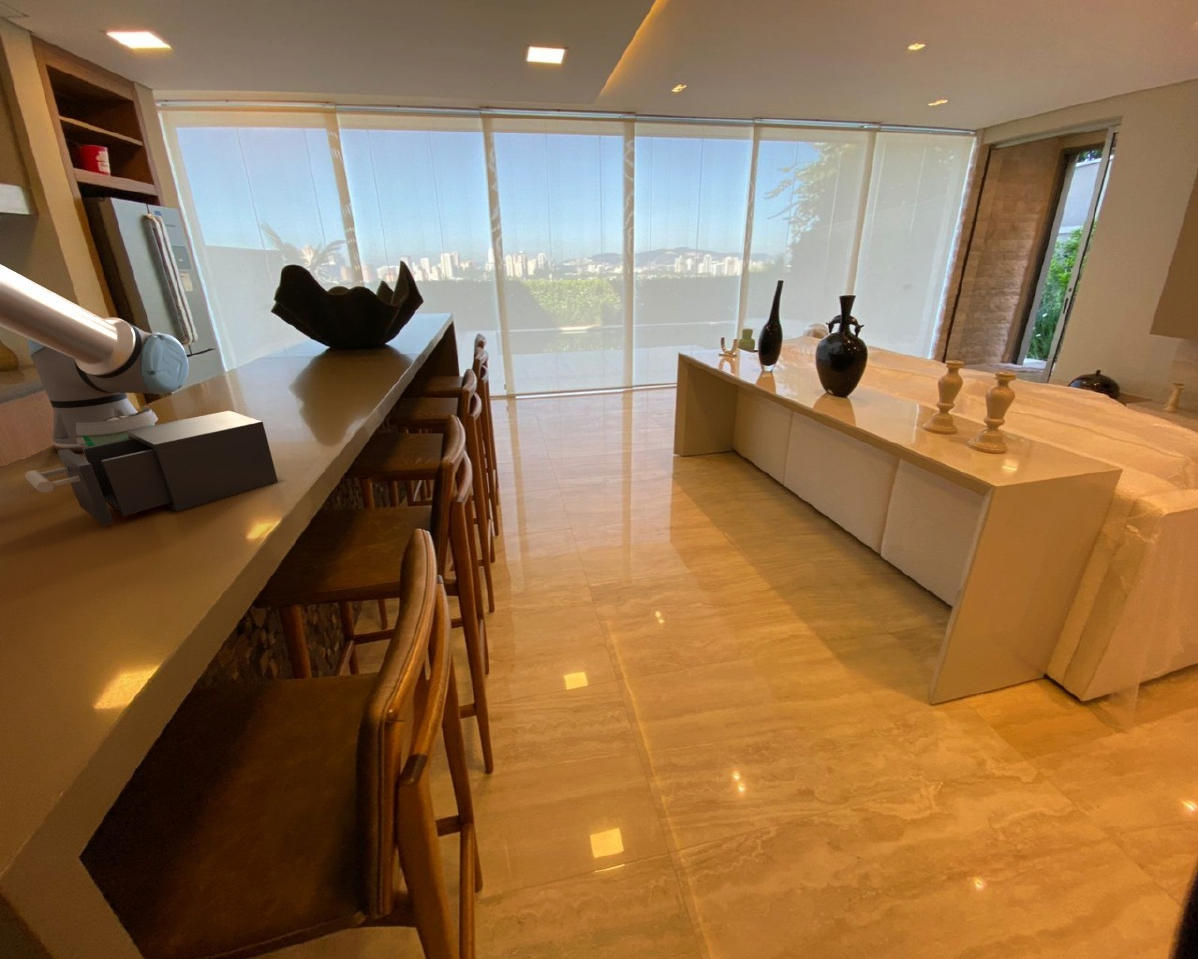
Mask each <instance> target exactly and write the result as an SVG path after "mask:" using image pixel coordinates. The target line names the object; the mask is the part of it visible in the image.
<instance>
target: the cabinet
mask: <svg viewBox="0 0 1198 959" xmlns="http://www.w3.org/2000/svg"><path fill="white" fill-rule="evenodd" d="M126 434H127V436H128V439H131V438H134V439H136V440H138V441H140V442H142V443H144V444H146V445H147V446H149V447H151V448H153V449H154V451H155V453H156V456H157V459H158V462H159V465H160V468H161V471H162V474H163V477H164V480H165V483H166V486H167V489H168V492H169V494H170V497H171V500H172V502H171V503H167V504H165V506H167V507H169V508H171V509H172V510H173V511H175V512H177V513H178V512H181V511H185V510H187V509H192V508H194V507H198V506H201V505H204V504H208V503H211V502H214V501H217V500H221V499H225V498H228V497H231V496H233V495H238V494H241V493H244V492H248V491H251V490H255V489H258V488H262V487H264V486H265V487H266V486H267V485H271V484H275V483H277V482H279V480H278V475H277V472H276V468H275V463H274V461H273V456H272V452H271V448H270V445H269V441H268V437H267V432H266V429H265V425H264V422H263V421H262V420H259V419H256V418H254V417H250V416H247V415H245V414H244V415H243V414H241V413H237V412H234V411H231V410H226V411H221V412H216V413H215V412H214V413H210V414H204V415H200V416H194V417H190V418H183V419H179V420H174V421H168V422H163V423H158V424H155V425H152V426H146V427H141V428H136V429H130V430H126Z"/></svg>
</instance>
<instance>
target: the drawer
mask: <svg viewBox="0 0 1198 959" xmlns="http://www.w3.org/2000/svg"><path fill="white" fill-rule="evenodd" d="M82 450H83V455H84V458H85V459H84V458H83V457H81V456H80V455H79V454H76V452H72V451H71V450H69V449H63V450H57V451H56V452H57V453H58V457H59V460H60V461H61V464H62V467H60V468H56V469H51V470H47V471H43V472H40V471H39V470H33V469H32V470H29V471H27V472H25V473H24V479H25V480H26V481H27V482H28V483H29V484H30V485H31V486H33V488H35V490H36V491H37V492H40V493H42V494H47V493H48V494H49V493H51V492H52V491H53V490H54V489H55V487H59V486H63V485H64V486H65V485H69V484H70V486H71V487H72V491H73V493H74V495H75V498H76V500H77V502H78V506H79V507H80V508H81V509H83V510H84V511H85V512H86V513H87V514H88V515H90V516H91V517H92V519H94V520H96V521H97V523H99V524H100V525H101V526H102V527H104V526H107V525H111V524H114V523H115V522H114V520H113V517H112V514H111V511H110V509H109V506H110V507H111V508H112V509H113V510H115V511H116V512H117V513H119V514H120V515H121V516H122V517H125V516H129V515H133V514H136V513H140V512H143V511H147V510H150V509H153V508H156V507H161V506H163V505H166V504H167V503H171V502H172V500H171V497H170V494H169V492H168V489H167V486H166V483H165V480H164V477H163V474H162V471H161V468H160V465H159V462H158V459H157V456H156V453H155V451H154V449H153V448H151V447H149V446H147V445H146V444H144V443H142V442H140V441H138V440H136V439H134V438H131V439H126V440H121V441H116V442H111V443H106V444H101V445H96V446H91V447H86V448H82ZM65 473H66V476H67V477H66V478H63V479H58V480H54V481H50V479H48V478H47V477H51V476H57V475H60V474H65ZM108 505H109V506H108Z"/></svg>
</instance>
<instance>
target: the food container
mask: <svg viewBox="0 0 1198 959" xmlns="http://www.w3.org/2000/svg"><path fill="white" fill-rule="evenodd" d="M141 409H142V410H141V411H137V412H138V413H135V414H130V415H124V416H115V417H111V418H108V419H106V420H103V421H101V422H90V423H76V425H77V427H76V433H77V435H82V437H83V439H84V440H85V442H86V444H87V446H88V447H91V446H96V445H101V444H106V443H111V442H116V441H121V440H126V439H128V436H127V434H126V430H130V429H136V428H141V427H146V426H152V425H156V424H155V423H156V422H157V421H158V420H159V418H158V417H157V415H156V413H155V411H154V410H152V408H150V407H149V406H141Z"/></svg>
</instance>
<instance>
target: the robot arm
mask: <svg viewBox="0 0 1198 959" xmlns="http://www.w3.org/2000/svg"><path fill="white" fill-rule="evenodd" d="M0 327H1V328H3V329H5V330H8V331H10V332H12V333H14V334H16V335H19V336H21V337H24V338H26V344H27V347H28V350H29V357H30V359H32V362H33V364H34V367H35V369H36V371H37V374H38V377H39V379H40V381H41V383H42V384H41V385H42V386H43V388H44V390H45V391H44V392H46V396H47V398H48V400H49V402H50V405H51V407H52V410H53V424H52V442H53V446H54V447H55V449H56V450H57V451H58V450H63V449H69V450H71V451H72V452H74V453H82V452H83V450H82V448H86V447H88V446H87V444H86V442H85V440H84V439H83V437H82V435H77V433H76V427H77V425H76V423H90V422H101V421H103V420H106V419H108V418H111V417H115V416H124V415H130V414H135V413H138V412H139V411H138V410H137V409H136V408H135V407H134V406H133V404H132V403H131V402H130V400H129V398H128V396H127V394H154V395H162V394H171V393H175V392H177V390H179V389H181V388H182V387H183V385H184V384H185V383H186V381H187V378H188V376H189V371H190V370H189V366H190V365H189V358H188V356H187V353H186V349H185V348H184V347H183V344H181V342H180V341H179V340H178V339H177V338H175V337H174V336H172V335H170V334H167V333H162V332H158V331H157V332H152V333H151V332H147V331H145V330H142V329H140V328H138V327H137V326H135V325H133V324H132V323H129V322H128V321H126V320H124V319H122V318H119V317H109V316H108V317H103V318H102V317H100V316H98V315H97V314H94V313H93V312H91V311H89V310H87V309H85V308H84V307H81V306H79V305H78V304H76V303H75V302H72V301H70V300H68V299H66V298H65V297H63V296H61V295H59V294H58V293H55V292H53V291H51V290H49V289H48V288H46V287H44V286H42V285H40V284H38V283H37V282H34V281H33V280H30V279H28V278H27V277H25V276H24V275H21V274H20V273H17V272H16V271H14V270H11V269H10V268H8V267H6V266H4V265H2V264H0Z"/></svg>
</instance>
